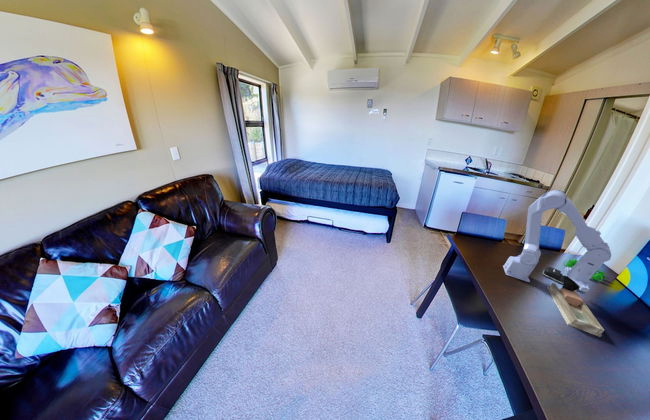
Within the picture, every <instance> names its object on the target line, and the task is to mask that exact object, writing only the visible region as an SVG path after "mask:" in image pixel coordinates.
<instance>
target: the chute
mask: <svg viewBox="0 0 650 420" xmlns="http://www.w3.org/2000/svg"><path fill="white" fill-rule="evenodd" d="M546 289H547V291H548V292H549V294H550V296H551V298H552V299H553V301H554V303H555V306H557V309H558V310H559V312H560V314H561V316H562V317H563V319H564V321H565V323H566V324H567V326H569V327H573V328H575V329H577V330H581V331H584V332H586V333H588V334H590V335H594V336H597V337H598V338H601V337H602V336H603V335H602V334H603V332H604V331H605V329H604V327H603V326H602V325H601V324H600V322H599V321H598V319H597V318H596V317H595V315H594V314H593V312H592V311H591V310H590V308H589V306H587V304H586V303H585V301H584V300H583V299H582V297H581V299H582V300H583V302H582V303H581V304H580V305H579V306H578V307H577V306H574V305H572V304H569V303H567V301H566V300H565V298H564V297H563V295H562V293H561V292H560V289H559V287H558V286H557V283H554V282H552V283H551V284H550V286H546ZM577 291H578V290H575V291H573V292H576V293H578V292H577ZM578 295H579V296H580V294H579V293H578Z"/></svg>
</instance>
